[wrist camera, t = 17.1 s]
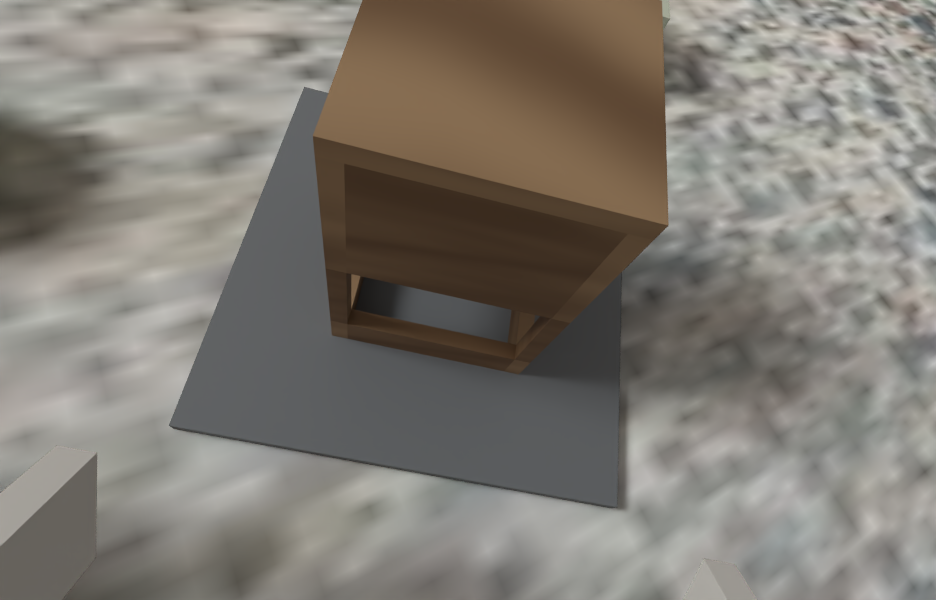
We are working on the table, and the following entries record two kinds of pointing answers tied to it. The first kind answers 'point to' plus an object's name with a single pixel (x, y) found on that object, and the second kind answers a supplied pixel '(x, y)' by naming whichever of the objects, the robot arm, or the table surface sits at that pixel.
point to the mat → (395, 365)
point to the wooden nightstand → (491, 163)
